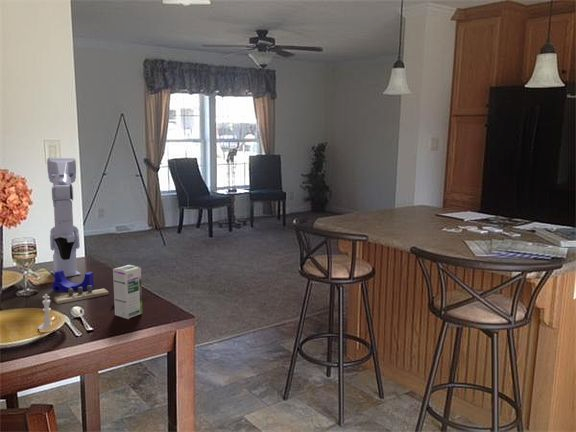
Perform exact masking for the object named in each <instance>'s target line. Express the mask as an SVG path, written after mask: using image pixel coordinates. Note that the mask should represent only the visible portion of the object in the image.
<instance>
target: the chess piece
mask: <svg viewBox="0 0 576 432" xmlns="http://www.w3.org/2000/svg"><path fill="white" fill-rule="evenodd" d="M50 297H51V296H49V295H48V293H45V294H44V295H43V296H42V299H44V300H42V305H43V309H42V312H44V319H43V320H44V322H43V323H42V324H41V325H39V326H38V327H37V330H38V329H39V330H46V329H48V328H49V327H50V326H51V325H52V323H53V322H52V321H51V316H50V311H51V310H52V308H51V307H50V306H51V298H50Z"/></svg>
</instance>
